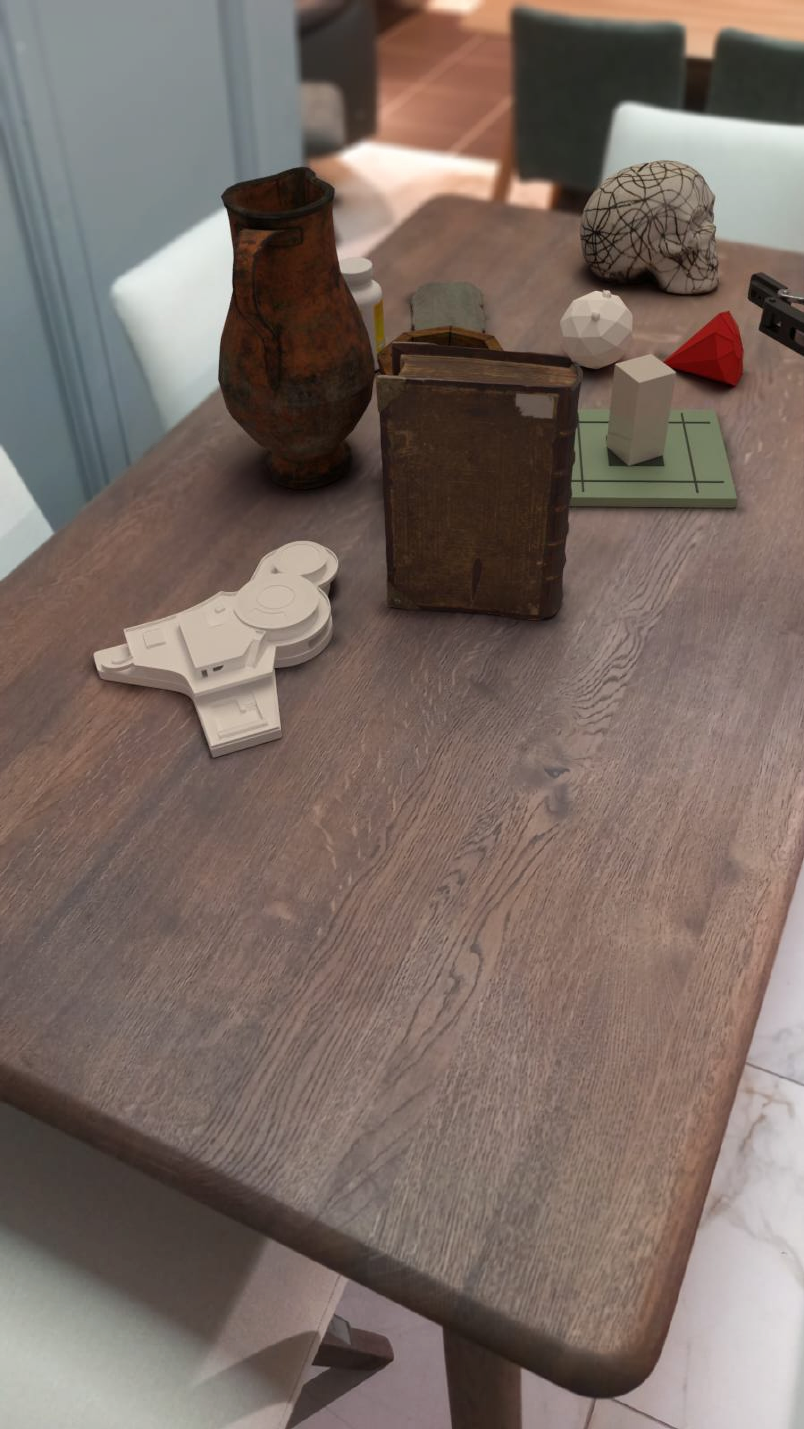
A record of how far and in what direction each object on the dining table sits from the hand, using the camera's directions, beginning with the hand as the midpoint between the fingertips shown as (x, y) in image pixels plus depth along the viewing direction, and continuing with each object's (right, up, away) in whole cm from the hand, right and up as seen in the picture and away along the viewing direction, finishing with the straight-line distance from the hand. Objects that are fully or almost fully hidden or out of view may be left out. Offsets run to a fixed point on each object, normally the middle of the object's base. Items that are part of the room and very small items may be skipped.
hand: (794, 273), depth 92 cm
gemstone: (+4, +5, +44) cm, 45 cm away
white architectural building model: (-48, -32, +11) cm, 59 cm away
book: (-26, -26, +15) cm, 40 cm away
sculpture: (+1, +25, +64) cm, 69 cm away
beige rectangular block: (-7, -8, +30) cm, 32 cm away
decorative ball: (-7, +7, +47) cm, 48 cm away
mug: (-25, -12, +29) cm, 40 cm away
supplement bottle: (-38, +8, +49) cm, 63 cm away
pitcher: (-44, -10, +32) cm, 55 cm away
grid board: (-7, -8, +31) cm, 33 cm away
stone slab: (-27, +14, +55) cm, 63 cm away
